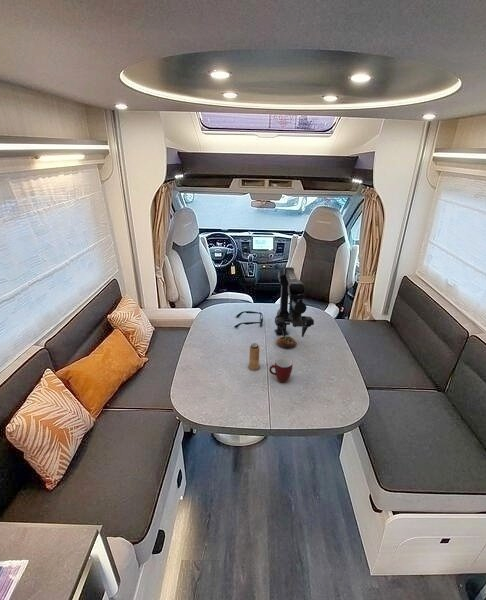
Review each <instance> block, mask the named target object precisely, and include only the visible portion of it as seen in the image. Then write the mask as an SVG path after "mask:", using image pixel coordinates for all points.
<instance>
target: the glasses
mask: <svg viewBox="0 0 486 600" xmlns="http://www.w3.org/2000/svg"><path fill="white" fill-rule="evenodd" d="M244 313H245V314H258V315H259V319H260V321H246V322H240V323H237V324H235V325H234V328H236V329H237V328H239V327H240V326H241V325H246V326H247V325H248V326H249V325H254V324H255V325H256V324H260V325H259V327H262V325H263V322H264V315H263V313H262V312H260V311H259V312H258V311H251V310H244V311H241V312H239V313H238V314H237V315H235V317H236V318H240V316H241V315H242V314H244Z"/></svg>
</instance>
